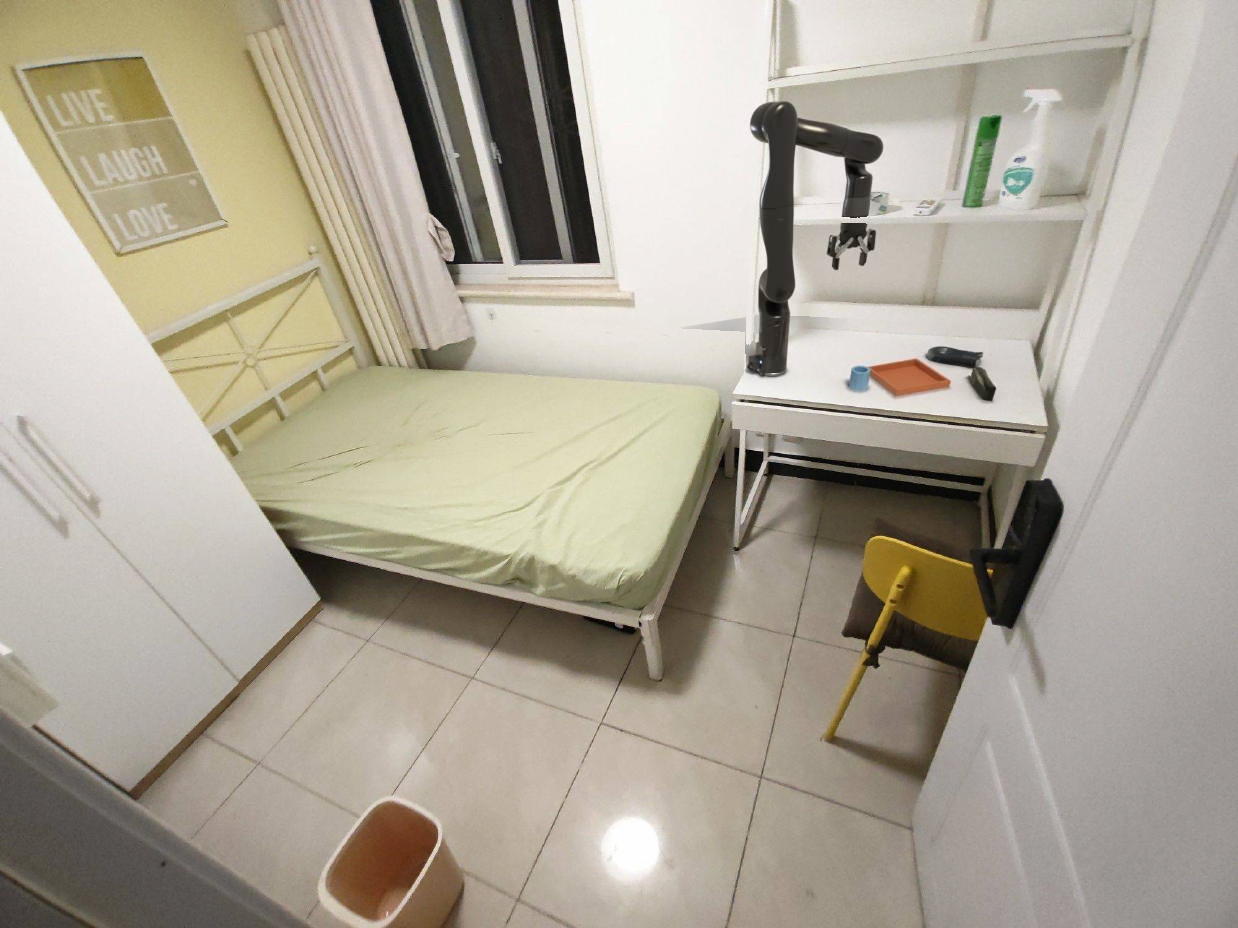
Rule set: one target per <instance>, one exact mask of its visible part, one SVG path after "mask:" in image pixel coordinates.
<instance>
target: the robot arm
mask: <svg viewBox="0 0 1238 928" xmlns="http://www.w3.org/2000/svg"><path fill="white" fill-rule="evenodd" d="M752 112H753V113H752V114H751V116H750V119H749V129H750V132H751V134H752V136H753V138H754V139H755V140H757V141H758V142H760V143H762V144H768V169H767V174H766V176H765V180H764V183H763V185H762V189H761V192H760V195H759V201H758V203H759V226H760V231H761V232H760V233H761V236H762V237H761V238H762V241H763V245H764V249H765V254H766V268H765V269H764V270H763V271H762V273H761V274H760V276H759V279H758V288H757V289H758V291H757V309H758V314H759V318H758V319H759V321H758V341H757V342H756V343H755V354H753V355H748V361H747V362H748V363H747V365H746V368H747V370H748V371H750V372H754V371H756V372H757V373H758V374H759V375H760V377H779V376H782V375H784V374H786V372H787V367H788V364H787V363H788V351H789V350H788V349H789V339H790V338H789V337H790V324H791V310H790V305H789V300H790V299H791V298H792V296H793V295H794V293H795V289H796V274H795V265H794V255H793V254H794V251H793V250H794V230H795V229H794V221H795V158H796V157H795V156H796V147H797V146H799V147H802V148H804V149H808V150H811V151H814V152H817V153H821V154H824V155H828V156H832V157H836V158H843V161H844V172H845V178H846V182H845V190H844V191H845V192H844V198H843V203H842V208H841V217H850V218H857V217H858V218H860V217H867V216H868V215H870V210H871V194H872V188H873V179H874V177H873V174H872V173H871V172H869V171H868V170H867V169H866V168H867V167H866V165H871V164H873V163H875V162H876V161H878V160H879V159H880V157H881V156H882V155H883V152H884V142H883V140H882V138H881V137H880V136H878V135H877V134H873V133H868V132H864V131H863V132H862V131H858V130H857V131H856V130H853V129H850V128H847V127H844V126H842V125H838V124H834V123H831V122H825V121H820V120H812V119H807V118H802V117H798V113H797V112H798V111H797V110H796V107H795V105H794V104H793V103H791V102H790V101H787V100H779V101H767V102H765V103H762V104H760V105H758V106H757V107H756V109H755V110H754V111H752ZM839 228H840V232H839V234H838V235H834V234H830V235H829V237H828V244H827V249H826V255H827V256H828V257H830V258H831V259H832V260H831V268H832V269H833V270H834V271H839V269H840V259H841V258H840V256H841V255H842V254H843V253H844V252H846V250H849V249H852V248H858V249H859V251H860V252H859V258H858V266H861V267H864V266H865V264H866V263H867V259H868V253H869V252H872V251H875V249H876V248H875V247H876V237H877V231H876V230H875V229H873V228H868V224H866V223H841V222H840V227H839ZM867 228H868V230H867ZM866 238H867V239H866ZM865 239H866V240H867V241H866V243H865V241H864V240H865ZM837 243H838V244H837Z"/></svg>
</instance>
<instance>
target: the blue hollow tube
mask: <svg viewBox="0 0 1238 928" xmlns="http://www.w3.org/2000/svg"><path fill="white" fill-rule="evenodd" d="M868 367H869V366H866V365H854V366H853V367H851V369H850V377H849V383H848V384H849V385H848V388H849V389H851V390H853V391H859V392H860V391H865V390H867V389H868V387H869V383H870V368H868Z"/></svg>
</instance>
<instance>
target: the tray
mask: <svg viewBox="0 0 1238 928" xmlns="http://www.w3.org/2000/svg"><path fill="white" fill-rule="evenodd" d="M867 367H868V368H870V377H871V378H872V379H873V380H874V381H875V382H877V383H878V384H879V385H881V386H882V387H883V388H885V390H886V391H888V392H889V393H891V394H892V395H893V396H894V397H901V396H906V395H914V394H917V393H923V392H924V393H925V392H930V391H936V390H940V389H946V388H950V385H951V382H952V380H951V379H949V378H947V377H946V376H945V375H943V374H942V373H940V372H938V371H937V370H935V369H933V368H932V367H931V366H930V365H928V364H926V363H924V362H923V361H921V360H920V359H919V358H910V359H905V360H899V361H898V360H897V361H894V362H893V361H892V362H887V363H880V364H876V365H871V366H867ZM870 377H869V378H870Z"/></svg>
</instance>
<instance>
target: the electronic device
mask: <svg viewBox="0 0 1238 928" xmlns="http://www.w3.org/2000/svg"><path fill="white" fill-rule="evenodd" d="M926 357H927V358H928V359H929V360H930V361H932V362H934V363H939V364H946V365H951V366H961V367H967V368H968V367H969V368H970V367H972V368H974V367H979V364H980V360H981V359H982V358H983V357H984V351H971V350H964V349H959V348H954V347H950V346H944V345H943V346H942V345H939V346H933V347H930V348H929V349H928V350H927V353H926Z"/></svg>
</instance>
